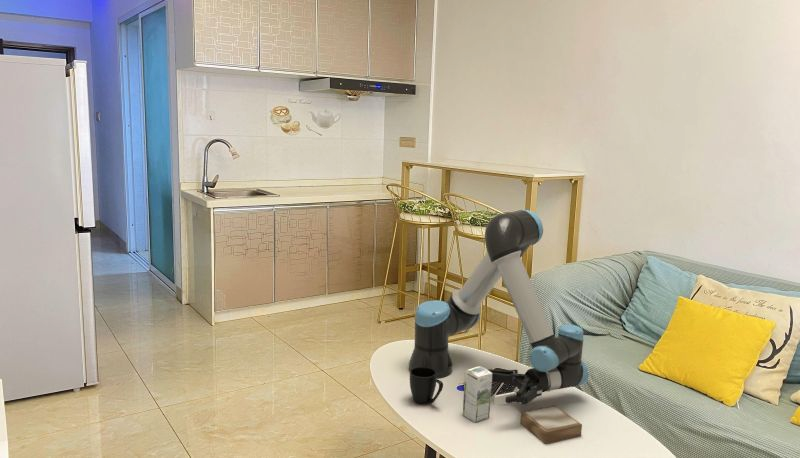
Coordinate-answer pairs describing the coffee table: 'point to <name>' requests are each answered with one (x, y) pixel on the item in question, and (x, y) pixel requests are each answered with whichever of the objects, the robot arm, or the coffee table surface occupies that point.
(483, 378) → the syrup box
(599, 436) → the coffee table surface
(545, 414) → the walnut stand
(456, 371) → the coffee table surface
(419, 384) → the mug
